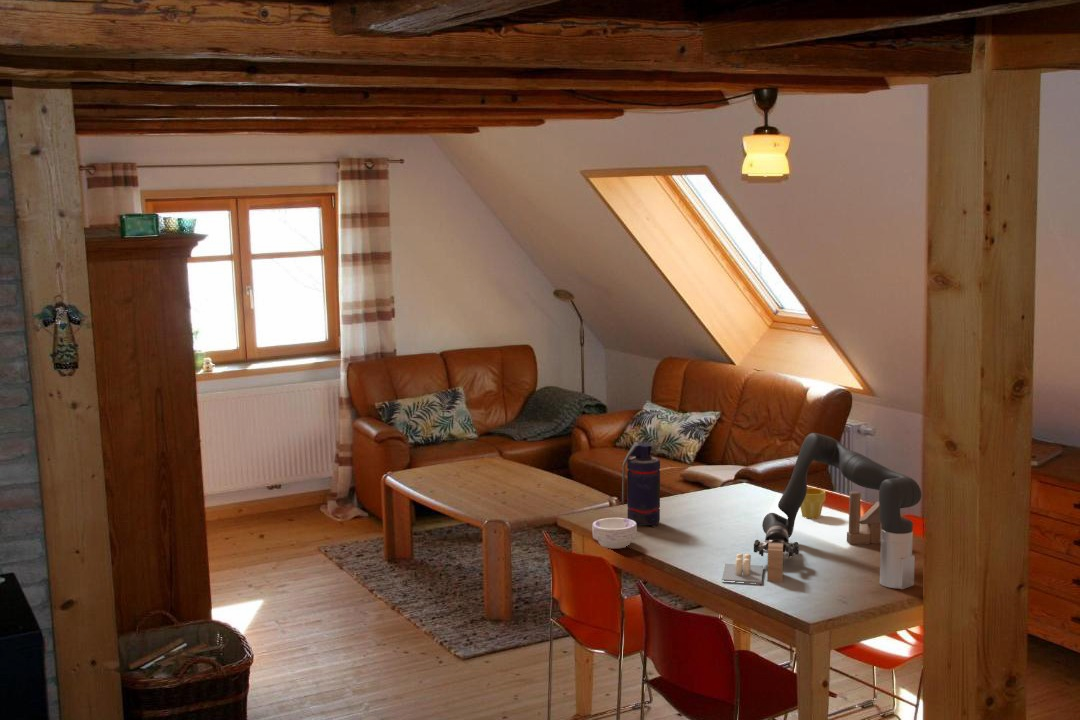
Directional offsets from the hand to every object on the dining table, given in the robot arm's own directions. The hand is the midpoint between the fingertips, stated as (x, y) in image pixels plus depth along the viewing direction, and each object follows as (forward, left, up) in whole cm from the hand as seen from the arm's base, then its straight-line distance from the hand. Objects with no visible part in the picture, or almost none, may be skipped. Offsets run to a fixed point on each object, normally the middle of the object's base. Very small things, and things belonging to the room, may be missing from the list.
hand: (775, 553), depth 367 cm
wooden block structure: (+2, -48, -6) cm, 48 cm away
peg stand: (+4, +10, -6) cm, 13 cm away
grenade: (+68, -5, -6) cm, 69 cm away
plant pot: (+36, -60, -6) cm, 70 cm away
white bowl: (+54, +20, -6) cm, 58 cm away
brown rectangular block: (-3, +4, -6) cm, 8 cm away
